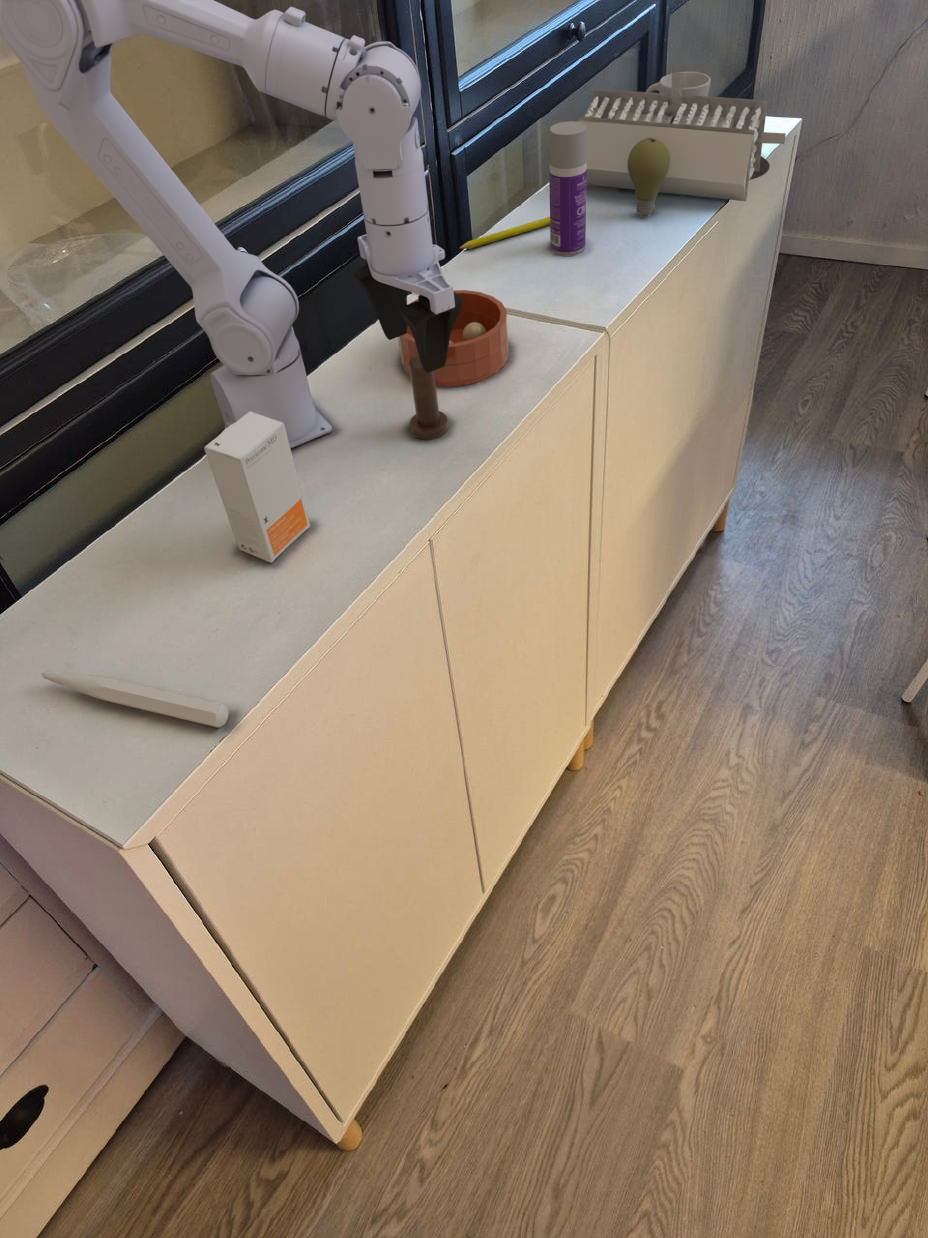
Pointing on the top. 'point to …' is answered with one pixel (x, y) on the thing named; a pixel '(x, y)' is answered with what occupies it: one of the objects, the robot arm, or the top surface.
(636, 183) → the light bulb
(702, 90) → the cup
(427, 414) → the pestle
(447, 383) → the bowl
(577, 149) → the container
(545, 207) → the top surface
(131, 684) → the tool
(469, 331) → the bead
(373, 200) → the robot arm
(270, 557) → the cosmetic box
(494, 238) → the pencil
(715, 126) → the miniature building
